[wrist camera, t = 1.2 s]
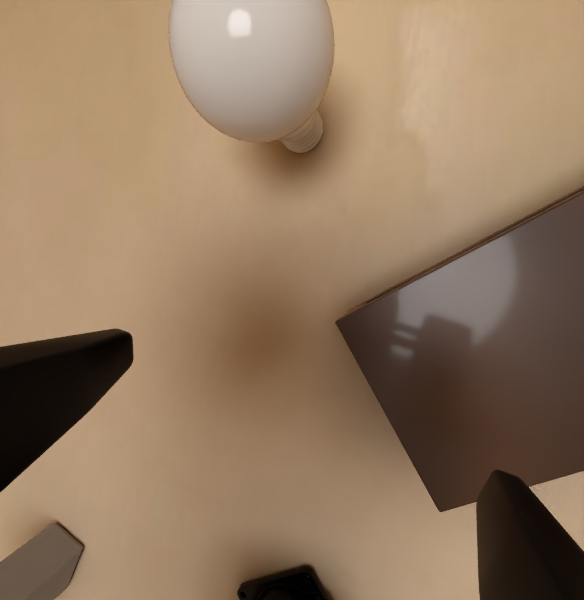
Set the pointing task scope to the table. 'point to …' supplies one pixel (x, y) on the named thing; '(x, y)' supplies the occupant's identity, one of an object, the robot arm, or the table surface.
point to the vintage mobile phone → (40, 566)
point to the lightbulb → (255, 66)
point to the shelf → (485, 356)
